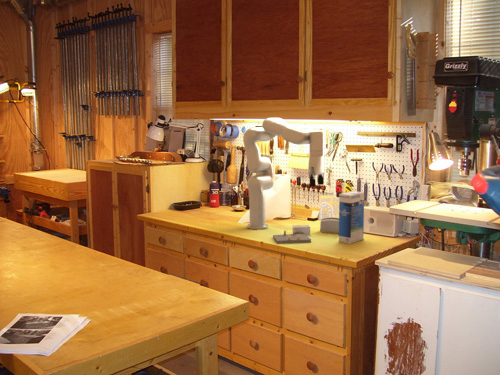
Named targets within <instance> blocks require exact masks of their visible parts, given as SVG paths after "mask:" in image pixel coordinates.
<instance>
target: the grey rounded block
mask: <svg viewBox="0 0 500 375" xmlns="http://www.w3.org/2000/svg"><path fill="white" fill-rule="evenodd" d="M319 224H320V227H319V228H320V230H319V231H320V232H324V233H335V234H339V216H338V217H337V216H334V217H333V216H328V217H323V218H322V219H321V220H320V223H319Z"/></svg>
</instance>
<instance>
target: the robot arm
mask: <svg viewBox="0 0 500 375" xmlns="http://www.w3.org/2000/svg"><path fill="white" fill-rule="evenodd" d="M324 134H325V133H324V131H323V130H310V129H304V130H298V129H294V128H292V127H291V125H290V123H288V122H286V121H285V120H284V119H283V118H281V117H268V118H265V119H264V120H263V122H262V125H261V126H259V127H258V126H255V127H250V128H247V130H246V131H245V132H244V133H243V136H242V137H243V138H242V139H243V140H242V141H243V145H244V150H245V157H246V164H247V165H246V166H247V169H248V171H249V172H250V173H252V174H254V175H252V176H250V177H249V178H248V179H247V191H248V202H249V205H248V206H249V207H248V208H249V224H247V225H246V227H247V228H248V229H251V230H264V229H268V228H269V224H266V196H265V194H264V191H267V190H270V189H272V188H273V186H274V182H275V179H274V172H273V165H272V161H271V160H270V158H269V157H268V156H264V155H263V156H261V150H260V146H259V145H258V144H257V142H259V143H260V142H268V141H271V140H273V139H274V138H275V137H280V138H282V139H283V140H284V141H286V142H289V143H291V144H294V145H299V146H300V145H309V159H308V172H307V173H308V174H307V175H308V177H309V178H308V179H309V187H313V188H314V187H316V176H317V185H321V186H323V185H324V177H325V171H326V170H325V167H324V166H325V164H324V163H325V162H324V154H325V153H324V152H325V151H324V149H325V142H324V140H325V136H324ZM256 173H257V174H256ZM258 173H259V174H258ZM255 174H256V175H255Z"/></svg>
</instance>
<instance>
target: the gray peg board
mask: <svg viewBox="0 0 500 375" xmlns="http://www.w3.org/2000/svg"><path fill="white" fill-rule="evenodd" d="M272 237H273V238H272V239H273V240H274V241H275V243H276V244H278V245H280V244H298V243H299V244H301V243H305V244H307V243H312V239H311V238H310V237H309V235H306V234H295V230H293V229H292V233H290V234H289V233H288V234H287V230H286V229H283V234H273V235H272Z"/></svg>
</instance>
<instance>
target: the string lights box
mask: <svg viewBox="0 0 500 375" xmlns="http://www.w3.org/2000/svg"><path fill="white" fill-rule="evenodd" d="M338 197H339V198H338V199H339V201H338V203H339V204H338V210H339V212H338V218H339V233H338V242H339V243H344V244H349V245H350V244H353V243H357V242H361V241H363V240H364V235H365V234H364V227H365V226H364V225H365V224H364V223H365V221H364V220H365V192H363V191H355V190H354V191H348V192H342V193H339V196H338Z"/></svg>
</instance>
